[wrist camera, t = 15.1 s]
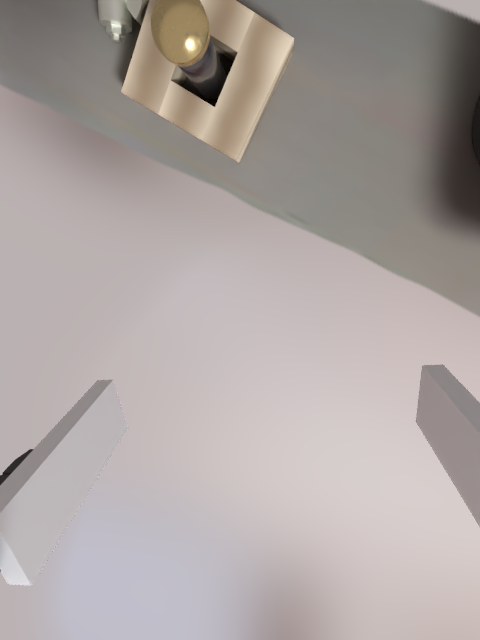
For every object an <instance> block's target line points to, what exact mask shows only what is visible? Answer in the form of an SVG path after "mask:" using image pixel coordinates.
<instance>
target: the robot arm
mask: <svg viewBox="0 0 480 640" xmlns="http://www.w3.org/2000/svg"><path fill="white" fill-rule="evenodd" d="M472 140H473V146H474V151H475V154H476V157H477V159H478V161H479V163H480V98H479V100H478V103H477V106H476V109H475V113H474V118H473V126H472ZM416 422H417V424H418V426H419V427H420V429H421V430H422V432H423V434H424V435H425V437H426V439H427V441H428V442H429V444H430V445H431V447H432V448H433V450H434V452H435V454H436V455H437V457H438V459H439V460H440V462H441V463H442V465H443V467H444V469H445V470H446V472H447V473H448V475H449V477H450V478H451V480H452V482H453V483H454V485H455V486H456V488H457V490H458V491H459V493H460V495H461V497H462V498H463V500H464V501H465V503H466V505H467V506H468V508H469V509H470V511H471V513H472V515H473V516H474V518H475V519H476V521H477V523H478V525H479V526H480V403H479V402H478V401H477V400H476V399H475V398H474V397H473V396H472V394H471V393H470V392H469V391H468V390H467V389H466V388H465V387H464V386H463V385H462V384H461V383H460V382H459V381H458V380H457V379H456V378H455V377H454V376H453V375H452V374H451V373H450V372H449V370H448V369H447V368H446V367H445V366H444V365H425V366H422V372H421V381H420V390H419V399H418V409H417V417H416ZM127 429H128V427H127V424H126V420H125V417H124V414H123V411H122V407H121V404H120V401H119V397H118V394H117V391H116V388H115V384H114V381H113V380H100V381H99V380H98V381H97V382H96V383H95V384H94V385H93V386H92V387H91V388H90V389H89V390H88V391H87V392H86V393H85V395H84V396H83V397H82V398H81V399H80V400H79V401H78V402H77V403H76V404H75V405H74V407H72V409H71V410H70V411H69V412H68V413H67V414H66V415H65V416H64V417H63V419H61V420H60V422H59V423H58V424H57V425H56V426H55V427H54V428H53V429H52V430H51V431H50V432H49V433H48V435H47V436H46V437H45V438H44V439H43V440H42V441H41V442H40V443H39V444H38V445H37V446H36V447H35V449H30V450H28V451H27V452H26V453H24V454H23V455H21V456H20V457H19V458H17V459H16V460H15V461H14V462H13V463H12V464H11V465H10V466H9V467H8V468H7V469H6V470H5V471H4V472H3V475H0V572H1V573H2V575H3V576H4V578H5V580H6V581H7V583H8V584H11V585H32V584H33V583H34V581H35V579H36V578H37V576H38V574H39V573H40V571H41V569H42V568H43V566H44V564H45V563H46V561H47V560H48V558H49V556H50V554H51V553H52V552H53V550H54V548H55V547H56V545H57V543H58V541H59V540H60V538H61V537H62V535H63V534H64V532H65V530H66V529H67V527H68V525H69V524H70V522H71V521H72V519H73V517H74V516H75V514H76V512H77V511H78V509H79V507H80V506H81V504H82V503H83V501H84V499H85V498H86V496H87V494H88V493H89V491H90V489H91V488H92V486H93V485H94V483H95V481H96V480H97V478H98V476H99V475H100V473H101V472H102V470H103V468H104V467H105V465H106V463H107V462H108V460H109V458H110V457H111V455H112V453H113V452H114V450H115V449H116V447H117V445H118V444H119V442H120V441H121V439H122V437H123V436H124V434H125V432H126V431H127Z"/></svg>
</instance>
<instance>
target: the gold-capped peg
mask: <svg viewBox="0 0 480 640" xmlns="http://www.w3.org/2000/svg"><path fill="white" fill-rule="evenodd" d="M151 32H152V36H153V39H154V42H155V44H156V46H157V48H158V49H159V51H160V52H161V53H162V54H163V56H164V57H165V58H166V59H167V60H168V61H169V62H171V63H172V64H174V65H177V66H179V68H180V69H181V70H182V71H183V73H184V74H185V75H186V76H187V78H188V79H189V80H190V81H191V83H192V84H193V85H194V87H195V88H196V89H197V90H198V92H199V93H200V94H201V95H202V96H203V97H205V98H207V99H215V98H217V97H219V96H220V93H221V91H222V89H223V86H224V84H225V82H226V73H225V71H224V68H223V66H222V63H221V61H220V59H219V56H218V54H217V52H216V49H215V47H214V45H213V42H212V40H211V38H210V25H209V20H208V17H207V14H206V12H205V9H204V7H203V5H202V3H201V2H200V0H157V2H156V4H155V6H154V8H153V12H152V16H151Z"/></svg>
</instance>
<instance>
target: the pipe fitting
mask: <svg viewBox="0 0 480 640" xmlns="http://www.w3.org/2000/svg"><path fill="white" fill-rule="evenodd" d="M148 4H149V0H98V13H99V23H100V24H101V25H102V26H103V27H105V28H106V32H107V34H108V35H110V36H111V38H112V41H114V42H117V43H121V39H122V38H125V37H126V33H129V32H131V31H132V15H133V17H134V18H135V20H136V21H137V22H138V23H139V24H140V25H141V26H142V23H143V20H144V17H145V13H146V10H147V7H148Z"/></svg>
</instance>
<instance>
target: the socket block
mask: <svg viewBox="0 0 480 640" xmlns="http://www.w3.org/2000/svg"><path fill="white" fill-rule="evenodd" d="M156 2H157V0H149V4H148V7H147V10H146V13H145V17H144V20H143V23H142V26H141V30H140V33H139V36H138V39H137V42H136V46H135V49H134V52H133V55H132V59H131V62H130V65H129V68H128V72H127V75H126V78H125V81H124V84H123V88H122V91H121V92H122V93H123V94H125V95H127V96H128V97H130V98H131V99H133V100H134V101H136V102H138V103H139V104H141V105H143V106H144V107H146V108H148V109H149V110H151V111H153V112H155V113H156V114H158V115H160V116H161V117H163V118H165V119H166V120H168V121H170V122H171V123H173V124H175V125H176V126H178V127H180V128H181V129H183V130H185V131H186V132H188V133H190V134H191V135H193V136H195V137H196V138H198V139H200V140H201V141H203V142H205V143H206V144H208V145H210V146H212V147H213V148H215V149H217V150H218V151H220V152H222V153H223V154H225V155H227V156H228V157H230V158H232V159H233V160H235V161H237V162H238V163H240V162H241V160H242V158H243V156H244V154H245V151H246V149H247V147H248V145H249V143H250V141H251V139H252V137H253V135H254V133H255V131H256V129H257V127H258V124H259V122H260V120H261V118H262V116H263V114H264V112H265V110H266V108H267V106H268V104H269V102H270V100H271V97H272V95H273V93H274V91H275V89H276V87H277V85H278V83H279V81H280V79H281V77H282V75H283V72H284V70H285V68H286V66H287V64H288V62H289V60H290V58H291V56H292V52H293V44H294V38H293V37H291V36H290V35H288V34H287V33H285V32H284V31H282V30H281V29H279V28H278V27H276V26H274V25H273V24H271V23H270V22H268V21H267V20H265V19H264V18H262V17H261V16H259V15H258V14H256V13H255V12H253V11H251V10H250V9H248V8H247V7H245V6H244V5H242V4H241V3H239V2H238V1H236V0H200V2H201V3H202V5H203V7H204V9H205V12H206V14H207V17H208V20H209V25H210V38H211V40H212V42H213V45H214V47H215V49H216V51H218V52H219V53H221V54H223V55H224V56H226V57H227V58H229V59H231V60H232V61H234V63H233V65H232V67H231V70H230V72H229V74H228V77H227V79H226V82H225V84H224V86H223V89H222V91H221V93H220V96H219V98H218V101H217V103H216V105H215V107H214V106H212V105H210V104H209V103H207V102H205V101H204V100H202V99H200V98H199V97H197V96H196V95H194V94H192V93H191V92H189V91H187V90H186V89H184V88H182V87H183V84H184V82H185V79H186V75H185V74H184V73H183V71H182V70H181V69H180V68H179V66H177V65H174V64H172V63H171V62H169V61H168V60H167V59H166V58H165V57H164V56H163V54H162V53H161V52H160V51H159V49H158V48H157V46H156V44H155V42H154V39H153V36H152V32H151V16H152V12H153V8H154V6H155V4H156Z"/></svg>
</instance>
